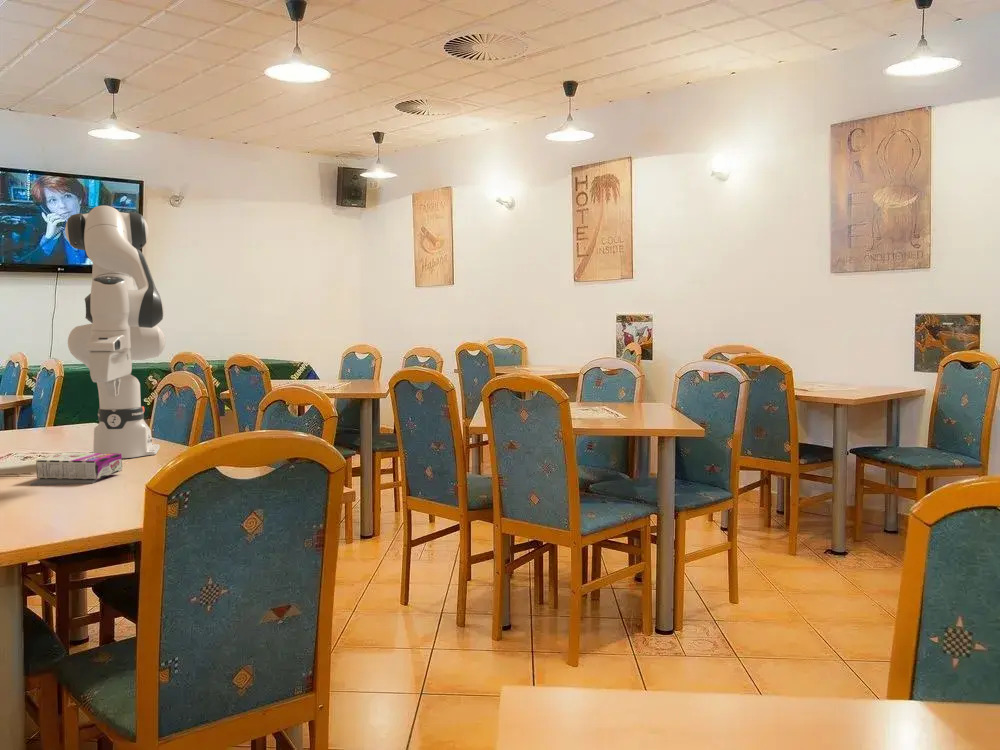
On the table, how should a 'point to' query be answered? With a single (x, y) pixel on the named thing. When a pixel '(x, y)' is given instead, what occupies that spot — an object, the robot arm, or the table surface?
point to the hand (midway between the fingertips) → (113, 396)
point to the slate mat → (63, 481)
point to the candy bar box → (79, 465)
